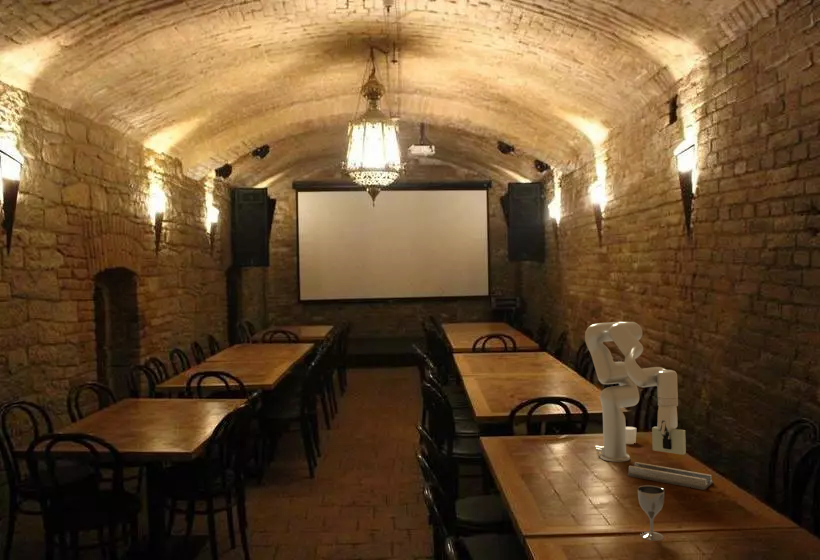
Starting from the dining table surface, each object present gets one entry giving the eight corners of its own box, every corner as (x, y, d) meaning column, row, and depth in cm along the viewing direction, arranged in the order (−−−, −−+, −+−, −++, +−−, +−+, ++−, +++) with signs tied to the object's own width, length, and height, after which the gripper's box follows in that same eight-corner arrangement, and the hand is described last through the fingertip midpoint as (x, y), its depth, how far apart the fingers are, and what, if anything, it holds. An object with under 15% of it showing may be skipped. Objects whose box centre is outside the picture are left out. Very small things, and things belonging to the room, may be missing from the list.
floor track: (627, 475, 277) (627, 467, 277) (637, 469, 284) (637, 461, 284) (704, 490, 257) (704, 480, 257) (712, 483, 265) (712, 474, 265)
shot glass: (635, 440, 329) (634, 426, 328) (638, 444, 322) (638, 429, 322) (620, 440, 329) (620, 426, 329) (623, 444, 322) (623, 429, 322)
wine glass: (634, 532, 221) (633, 486, 220) (658, 530, 221) (657, 484, 221) (645, 542, 213) (644, 494, 212) (669, 540, 213) (668, 492, 213)
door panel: (652, 450, 273) (652, 427, 273) (655, 448, 275) (654, 426, 275) (683, 454, 265) (682, 431, 265) (685, 453, 268) (685, 430, 267)
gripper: (665, 397, 279) (666, 441, 279) (650, 404, 266) (651, 451, 266) (684, 399, 274) (685, 444, 274) (669, 406, 261) (671, 454, 262)
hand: (668, 447), depth 270 cm, fingers closed on door panel, 3 cm apart
